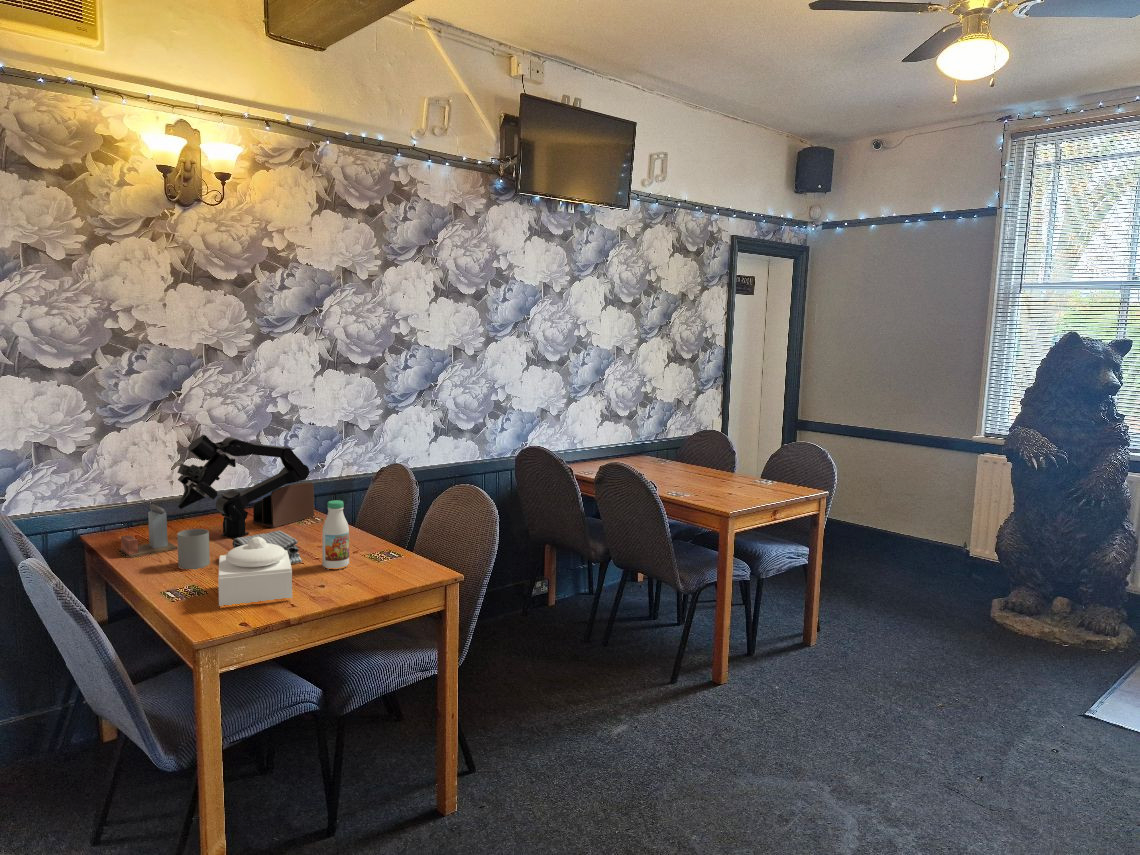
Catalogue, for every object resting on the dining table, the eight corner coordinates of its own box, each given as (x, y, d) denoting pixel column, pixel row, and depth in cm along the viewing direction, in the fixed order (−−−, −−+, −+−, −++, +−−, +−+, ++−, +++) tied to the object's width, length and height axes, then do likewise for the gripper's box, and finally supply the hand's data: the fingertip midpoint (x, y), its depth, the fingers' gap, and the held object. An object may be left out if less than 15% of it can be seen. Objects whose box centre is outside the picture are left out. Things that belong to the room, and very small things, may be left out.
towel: (279, 550, 248) (279, 526, 246) (303, 564, 234) (303, 539, 233) (230, 558, 237) (230, 533, 236) (252, 574, 224) (251, 547, 223)
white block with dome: (219, 609, 196) (217, 548, 194) (220, 586, 213) (218, 530, 210) (292, 601, 203) (291, 543, 201) (287, 580, 220) (286, 525, 217)
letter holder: (314, 517, 289) (314, 480, 287) (273, 528, 271) (272, 489, 269) (295, 513, 293) (294, 476, 291) (252, 524, 275) (251, 486, 274)
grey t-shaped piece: (160, 542, 248) (159, 503, 246) (170, 547, 242) (168, 507, 241) (147, 544, 245) (145, 504, 243) (156, 549, 239) (154, 509, 238)
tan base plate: (166, 543, 250) (166, 528, 249) (177, 549, 244) (176, 534, 243) (120, 551, 240) (119, 535, 239) (130, 557, 234) (129, 541, 233)
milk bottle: (317, 568, 230) (316, 502, 227) (333, 561, 237) (332, 497, 235) (338, 572, 228) (338, 505, 225) (354, 564, 235) (354, 500, 232)
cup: (174, 564, 229) (172, 532, 228) (202, 559, 235) (201, 527, 234) (185, 571, 223) (184, 538, 222) (214, 565, 229) (213, 533, 228)
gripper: (182, 450, 255) (148, 488, 248) (205, 458, 242) (170, 498, 236) (208, 470, 261) (175, 508, 255) (231, 479, 249) (198, 519, 242)
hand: (179, 507), depth 247 cm, fingers closed
